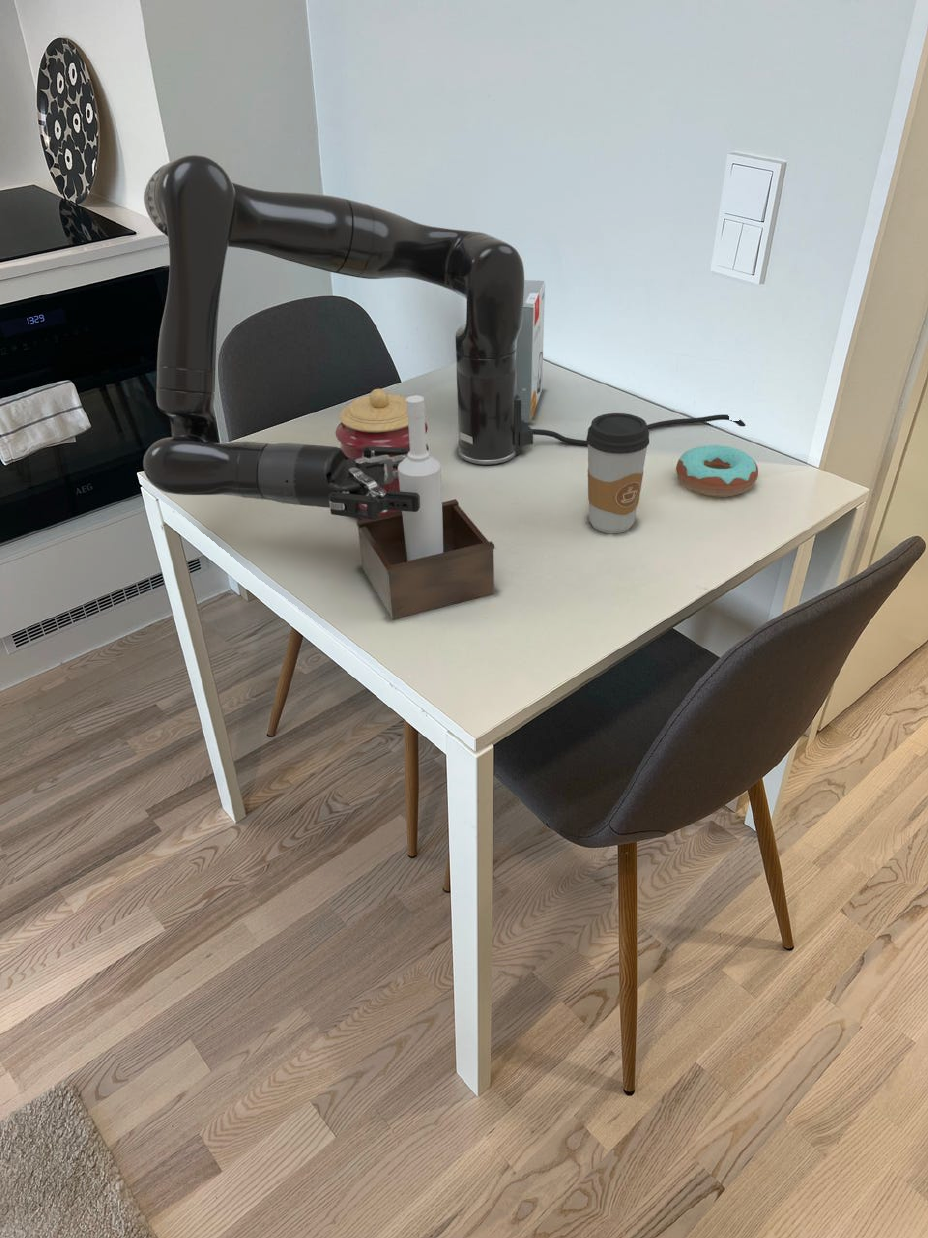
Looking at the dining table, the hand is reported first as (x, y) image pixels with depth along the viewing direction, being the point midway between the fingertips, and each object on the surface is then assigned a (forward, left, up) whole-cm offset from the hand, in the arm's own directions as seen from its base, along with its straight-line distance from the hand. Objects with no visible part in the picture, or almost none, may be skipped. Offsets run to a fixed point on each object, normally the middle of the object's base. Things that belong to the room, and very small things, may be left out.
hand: (428, 485), depth 113 cm
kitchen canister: (-1, -23, -14) cm, 27 cm away
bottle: (+1, -1, -14) cm, 14 cm away
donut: (-48, -8, -14) cm, 51 cm away
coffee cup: (-28, -4, -14) cm, 32 cm away
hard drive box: (-33, -47, -14) cm, 59 cm away
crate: (+1, -1, -14) cm, 14 cm away
